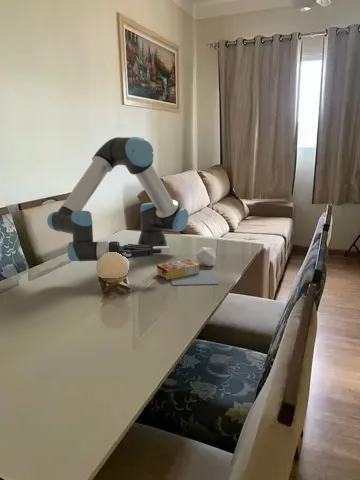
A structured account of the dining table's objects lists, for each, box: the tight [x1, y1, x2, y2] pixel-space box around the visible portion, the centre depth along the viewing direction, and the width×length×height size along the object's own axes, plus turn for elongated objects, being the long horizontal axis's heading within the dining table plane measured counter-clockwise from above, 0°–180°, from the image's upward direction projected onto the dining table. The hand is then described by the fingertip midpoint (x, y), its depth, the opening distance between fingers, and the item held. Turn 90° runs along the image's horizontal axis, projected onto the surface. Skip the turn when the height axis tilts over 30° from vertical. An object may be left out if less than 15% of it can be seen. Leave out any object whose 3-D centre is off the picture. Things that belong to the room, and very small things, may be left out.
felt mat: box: [170, 269, 219, 286], centre depth 156 cm, size 16×18×1 cm
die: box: [195, 246, 217, 267], centre depth 172 cm, size 8×9×10 cm
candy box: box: [156, 258, 200, 280], centre depth 160 cm, size 9×4×15 cm
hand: (169, 250), depth 152 cm, fingers closed
